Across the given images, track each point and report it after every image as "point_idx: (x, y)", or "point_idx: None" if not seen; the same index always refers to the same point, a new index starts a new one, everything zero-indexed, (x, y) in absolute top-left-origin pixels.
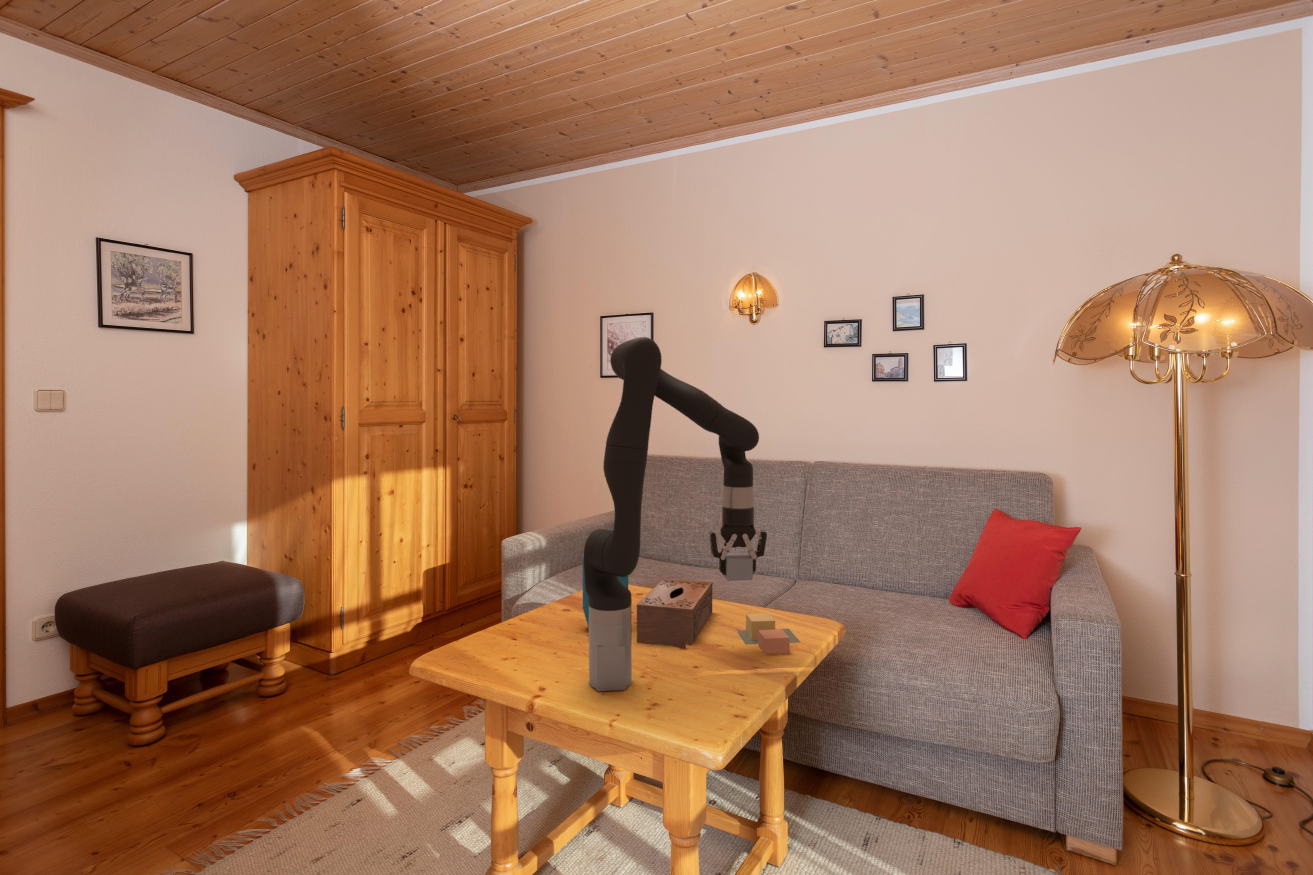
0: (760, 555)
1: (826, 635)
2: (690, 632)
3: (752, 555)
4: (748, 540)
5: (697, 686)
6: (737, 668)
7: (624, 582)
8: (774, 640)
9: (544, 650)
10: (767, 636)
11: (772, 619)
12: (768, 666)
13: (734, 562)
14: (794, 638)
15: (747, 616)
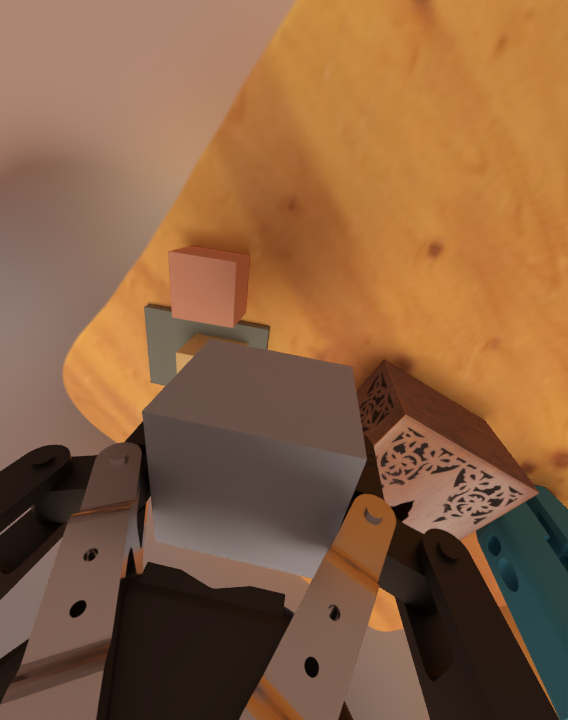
0: (63, 453)
1: (84, 342)
2: (395, 380)
3: (126, 469)
4: (43, 647)
5: (509, 102)
6: (338, 210)
7: (550, 592)
8: (211, 256)
9: None
10: (224, 276)
11: (180, 361)
12: (258, 202)
13: (306, 426)
14: (152, 329)
15: None
